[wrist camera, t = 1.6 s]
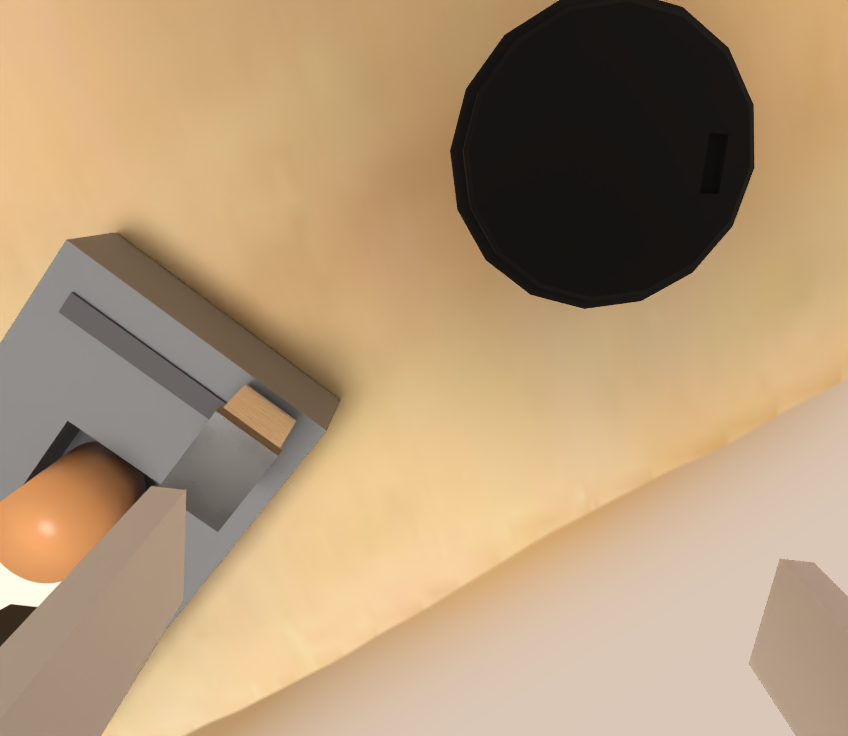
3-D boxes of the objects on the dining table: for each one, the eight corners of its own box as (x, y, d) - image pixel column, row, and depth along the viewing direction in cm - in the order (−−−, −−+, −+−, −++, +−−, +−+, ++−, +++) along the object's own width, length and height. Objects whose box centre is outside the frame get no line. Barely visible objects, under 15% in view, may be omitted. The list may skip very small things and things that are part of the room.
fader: (192, 450, 33) (156, 489, 29) (245, 380, 32) (215, 411, 28) (245, 487, 34) (217, 532, 29) (299, 420, 33) (278, 456, 28)
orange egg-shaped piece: (43, 487, 36) (-32, 545, 30) (87, 424, 35) (18, 471, 29) (116, 536, 37) (56, 601, 31) (161, 475, 36) (108, 531, 30)
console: (-119, 588, 42) (-214, 658, 36) (116, 232, 36) (49, 242, 30) (87, 715, 44) (30, 801, 38) (340, 399, 38) (322, 441, 32)
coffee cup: (673, 58, 33) (800, -10, 22) (642, 278, 36) (739, 322, 25) (453, 46, 33) (462, -30, 22) (439, 267, 36) (441, 304, 25)
